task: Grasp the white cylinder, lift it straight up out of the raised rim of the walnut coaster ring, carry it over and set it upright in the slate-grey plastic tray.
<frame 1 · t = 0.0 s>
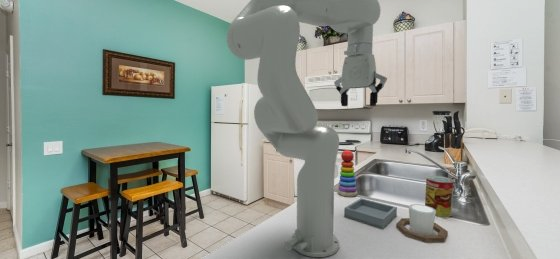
hand: (358, 105, 80), 37 cm above the worktop, tool pointing down, fingers open, 9 cm apart
coaster ring: (420, 231, 72), on the worktop
tray: (370, 216, 82), on the worktop
white cylinder: (420, 232, 72), resting in coaster ring
stacking toy: (347, 194, 104), on the worktop
canned food: (437, 213, 85), on the worktop
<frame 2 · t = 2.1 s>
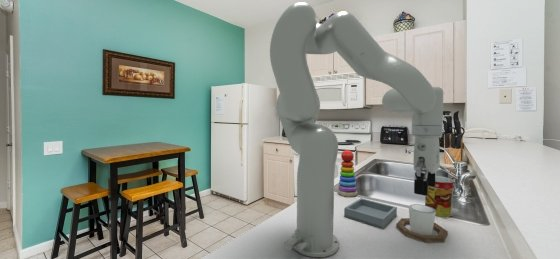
hand: (424, 189, 71), 12 cm above the worktop, tool pointing down, fingers open, 9 cm apart
nothing on the worktop moved.
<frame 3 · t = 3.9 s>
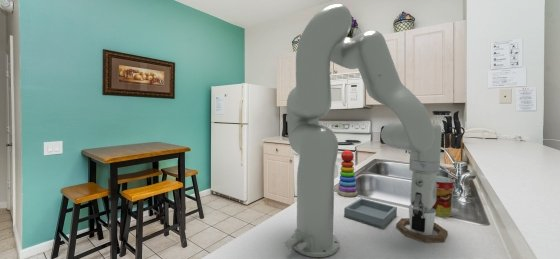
hand: (421, 225, 72), 2 cm above the worktop, tool pointing down, fingers closed on white cylinder, 6 cm apart
white cylinder: (420, 231, 72), resting in coaster ring, touching gripper
everything else where it was.
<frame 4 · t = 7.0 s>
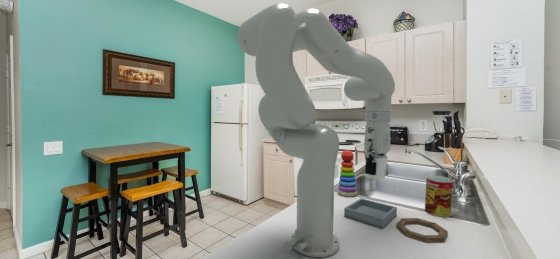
hand: (375, 171, 80), 15 cm above the worktop, tool pointing down, fingers closed on white cylinder, 6 cm apart
white cylinder: (375, 177, 80), point 13 cm above the worktop, touching gripper
everything else where it was.
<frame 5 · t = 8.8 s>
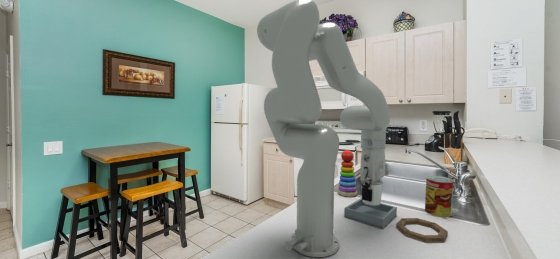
hand: (371, 197, 82), 7 cm above the worktop, tool pointing down, fingers closed on white cylinder, 6 cm apart
white cylinder: (371, 202, 82), point 5 cm above the worktop, touching gripper
everything else where it was.
when the fingers open (4 cm above the worktop, at t = 10.3 s): white cylinder drops 1 cm, resting on tray.
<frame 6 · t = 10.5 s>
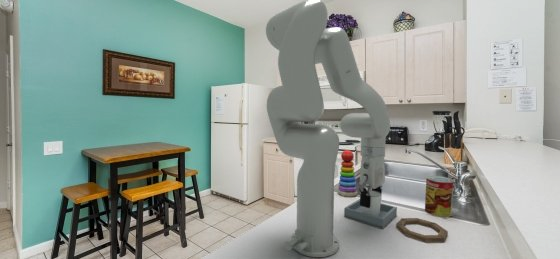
hand: (370, 202, 82), 5 cm above the worktop, tool pointing down, fingers open, 9 cm apart
white cylinder: (370, 214, 82), point 1 cm above the worktop, touching tray
everything else where it was.
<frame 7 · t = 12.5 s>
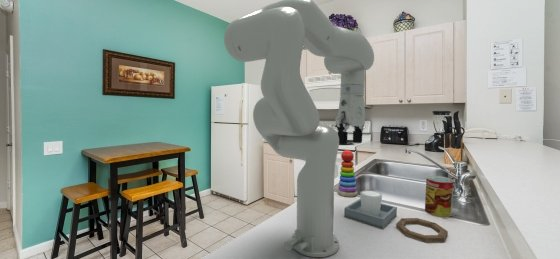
hand: (350, 143, 82), 24 cm above the worktop, tool pointing down, fingers open, 9 cm apart
nothing on the worktop moved.
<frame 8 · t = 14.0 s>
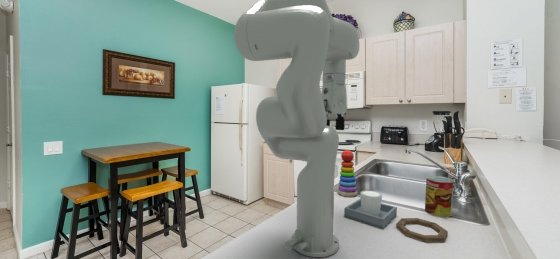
hand: (332, 130, 84), 28 cm above the worktop, tool pointing down, fingers open, 9 cm apart
nothing on the worktop moved.
at the end: white cylinder inside the target area on the tray (0.1 cm from its centre), point 0.6 cm above the tray's base; white cylinder tilted 0°; the gripper is holding nothing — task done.
